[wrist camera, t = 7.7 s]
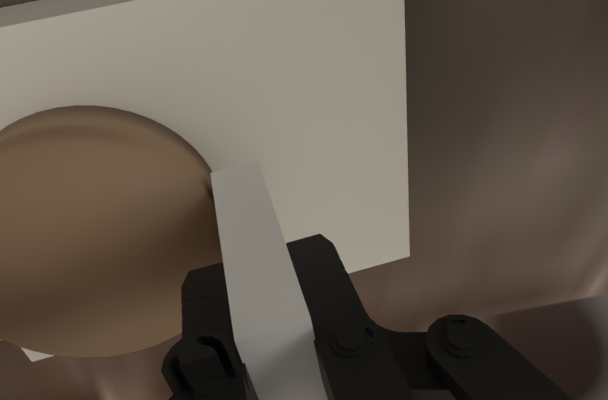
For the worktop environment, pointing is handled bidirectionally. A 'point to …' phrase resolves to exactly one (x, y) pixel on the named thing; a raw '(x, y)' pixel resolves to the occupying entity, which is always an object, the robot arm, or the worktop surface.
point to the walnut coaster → (99, 230)
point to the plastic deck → (242, 97)
